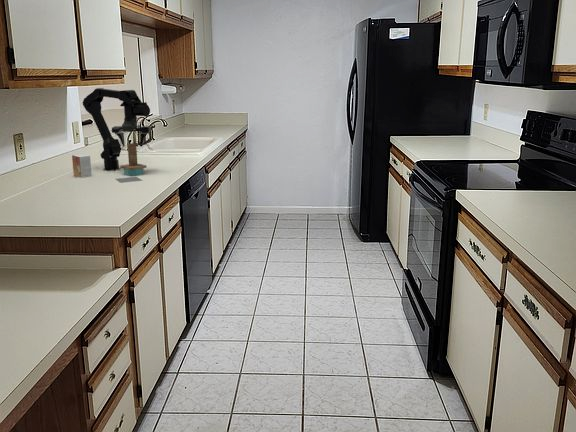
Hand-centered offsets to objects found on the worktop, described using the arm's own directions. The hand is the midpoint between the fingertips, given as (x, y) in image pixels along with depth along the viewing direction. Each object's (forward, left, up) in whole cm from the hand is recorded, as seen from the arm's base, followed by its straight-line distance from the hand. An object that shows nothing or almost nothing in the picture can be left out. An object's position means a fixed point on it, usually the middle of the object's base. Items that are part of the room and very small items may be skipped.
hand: (132, 146), depth 281 cm
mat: (+3, -22, -13) cm, 26 cm away
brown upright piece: (+2, -8, -10) cm, 13 cm away
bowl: (+2, -8, -13) cm, 15 cm away
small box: (-22, -13, -13) cm, 29 cm away
